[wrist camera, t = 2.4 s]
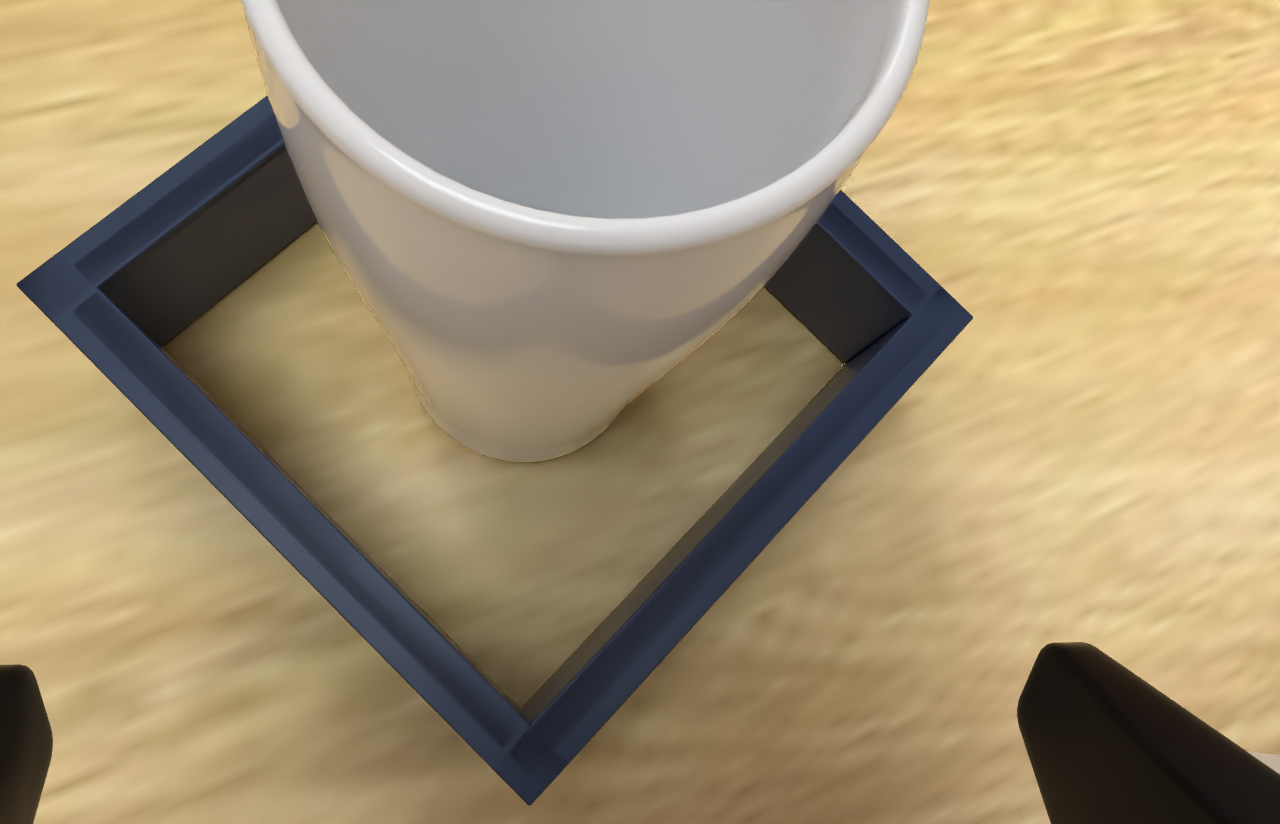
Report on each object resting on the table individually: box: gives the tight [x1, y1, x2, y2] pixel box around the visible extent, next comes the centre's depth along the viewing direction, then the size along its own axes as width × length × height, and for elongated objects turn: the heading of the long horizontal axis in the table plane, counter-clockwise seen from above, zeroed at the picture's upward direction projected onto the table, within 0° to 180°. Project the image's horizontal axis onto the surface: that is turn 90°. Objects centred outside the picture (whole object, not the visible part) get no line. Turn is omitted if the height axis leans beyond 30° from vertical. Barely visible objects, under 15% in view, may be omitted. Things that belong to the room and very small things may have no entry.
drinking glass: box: [240, 0, 930, 462], centre depth 16 cm, size 7×7×15 cm
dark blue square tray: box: [17, 95, 973, 806], centre depth 22 cm, size 13×13×4 cm
